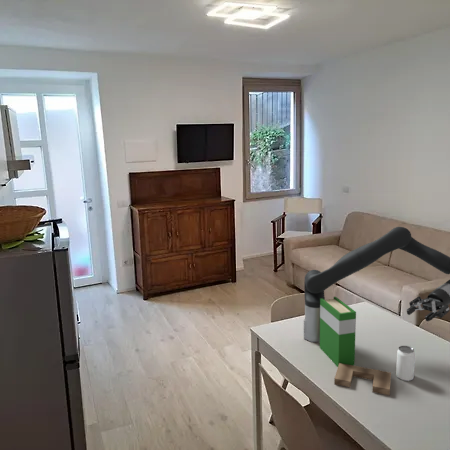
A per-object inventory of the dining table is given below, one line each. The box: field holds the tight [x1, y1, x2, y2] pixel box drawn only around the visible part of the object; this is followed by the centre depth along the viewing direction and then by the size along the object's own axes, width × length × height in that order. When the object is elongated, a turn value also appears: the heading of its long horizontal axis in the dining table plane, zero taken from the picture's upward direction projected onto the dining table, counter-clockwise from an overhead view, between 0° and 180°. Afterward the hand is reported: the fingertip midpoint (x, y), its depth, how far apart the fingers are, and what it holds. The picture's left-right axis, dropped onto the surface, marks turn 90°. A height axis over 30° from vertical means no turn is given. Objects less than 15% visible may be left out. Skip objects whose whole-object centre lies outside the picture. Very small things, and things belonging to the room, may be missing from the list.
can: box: [395, 345, 416, 382], centre depth 161 cm, size 6×6×12 cm
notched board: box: [333, 363, 392, 396], centre depth 160 cm, size 20×12×2 cm, turn 66°
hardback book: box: [319, 296, 357, 368], centre depth 177 cm, size 18×7×24 cm, turn 13°
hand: (416, 316), depth 160 cm, fingers open, 8 cm apart
